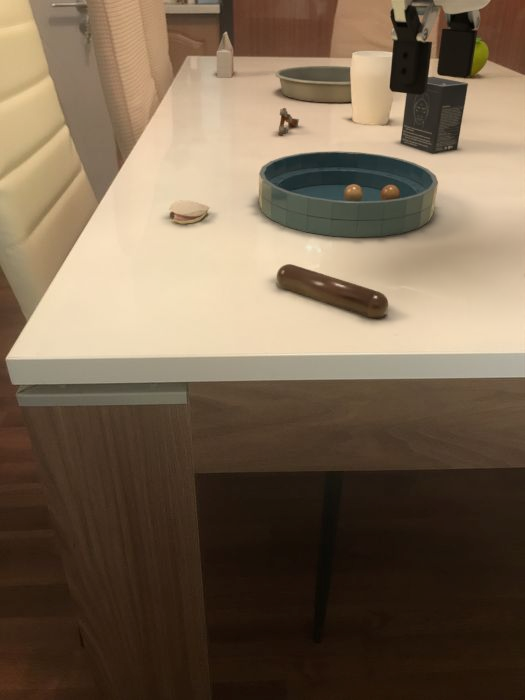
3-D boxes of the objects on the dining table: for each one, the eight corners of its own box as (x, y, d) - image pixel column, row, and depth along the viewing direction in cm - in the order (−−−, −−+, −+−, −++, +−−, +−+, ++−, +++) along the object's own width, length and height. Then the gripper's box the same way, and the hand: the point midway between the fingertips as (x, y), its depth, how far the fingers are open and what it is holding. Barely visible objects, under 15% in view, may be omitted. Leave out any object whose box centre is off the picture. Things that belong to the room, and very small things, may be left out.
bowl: (459, 206, 82) (465, 171, 79) (379, 258, 67) (384, 216, 65) (319, 175, 92) (321, 143, 90) (224, 214, 78) (223, 177, 76)
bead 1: (351, 177, 79) (346, 193, 78) (368, 185, 79) (363, 201, 78) (343, 187, 81) (338, 202, 80) (359, 195, 81) (355, 210, 80)
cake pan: (336, 82, 162) (337, 62, 159) (405, 98, 144) (407, 76, 142) (254, 90, 150) (254, 69, 148) (318, 108, 133) (319, 85, 130)
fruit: (458, 79, 167) (465, 37, 162) (442, 74, 175) (448, 33, 170) (490, 79, 169) (498, 37, 164) (472, 73, 177) (479, 33, 172)
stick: (385, 295, 54) (377, 322, 54) (396, 295, 56) (388, 322, 56) (275, 260, 59) (268, 285, 60) (288, 261, 61) (282, 286, 62)
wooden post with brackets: (273, 132, 110) (277, 105, 109) (285, 142, 118) (289, 117, 117) (283, 133, 110) (287, 106, 109) (295, 143, 117) (299, 118, 116)
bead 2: (402, 203, 80) (404, 184, 79) (393, 208, 79) (395, 189, 77) (385, 199, 82) (387, 180, 80) (375, 204, 80) (377, 185, 79)
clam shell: (163, 220, 76) (162, 199, 75) (200, 212, 78) (199, 192, 77) (181, 231, 73) (180, 209, 72) (219, 222, 75) (218, 201, 74)
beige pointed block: (217, 77, 166) (216, 34, 160) (219, 73, 171) (219, 31, 166) (231, 77, 166) (230, 34, 160) (233, 73, 171) (233, 31, 166)
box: (457, 151, 105) (469, 82, 99) (432, 156, 102) (443, 85, 97) (423, 141, 110) (433, 75, 105) (398, 145, 108) (407, 77, 102)
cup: (357, 115, 128) (362, 49, 121) (400, 121, 124) (408, 53, 118) (338, 124, 121) (343, 54, 115) (383, 130, 117) (391, 58, 111)
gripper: (463, -176, 41) (429, 105, 50) (545, -150, 53) (506, 74, 62) (360, -164, 45) (346, 95, 54) (458, -143, 57) (433, 67, 66)
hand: (431, 83), depth 58 cm, fingers open, 9 cm apart
